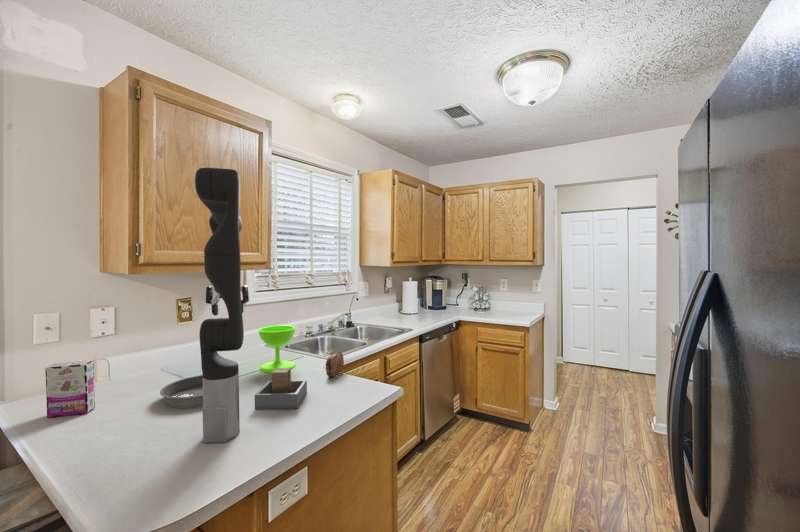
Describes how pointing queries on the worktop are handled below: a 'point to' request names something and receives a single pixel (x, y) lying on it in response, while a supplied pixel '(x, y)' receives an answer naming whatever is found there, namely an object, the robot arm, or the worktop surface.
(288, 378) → the brown wooden block
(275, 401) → the box
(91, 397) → the candy bar box
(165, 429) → the worktop surface
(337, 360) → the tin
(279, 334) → the wineglass
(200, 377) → the cake pan
